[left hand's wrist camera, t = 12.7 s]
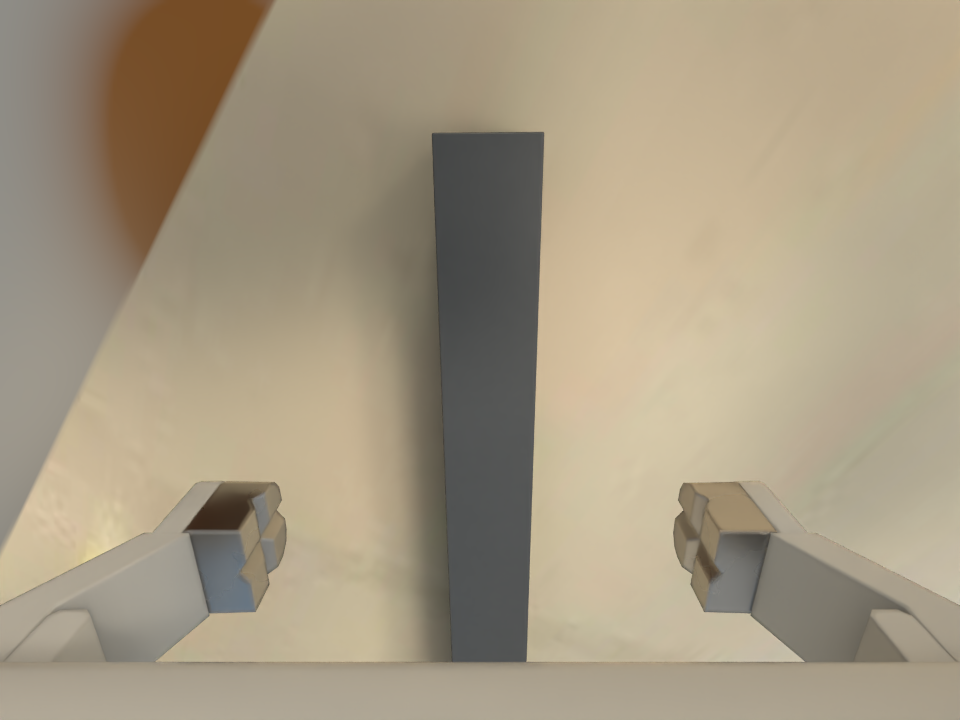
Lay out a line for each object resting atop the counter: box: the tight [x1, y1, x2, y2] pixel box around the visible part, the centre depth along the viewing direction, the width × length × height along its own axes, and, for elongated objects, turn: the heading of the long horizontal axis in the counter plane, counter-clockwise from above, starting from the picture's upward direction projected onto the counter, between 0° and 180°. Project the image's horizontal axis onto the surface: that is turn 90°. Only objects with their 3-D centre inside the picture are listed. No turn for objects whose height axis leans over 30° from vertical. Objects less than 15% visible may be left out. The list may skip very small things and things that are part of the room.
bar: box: [432, 132, 544, 662], centre depth 41 cm, size 80×5×8 cm, turn 0°
